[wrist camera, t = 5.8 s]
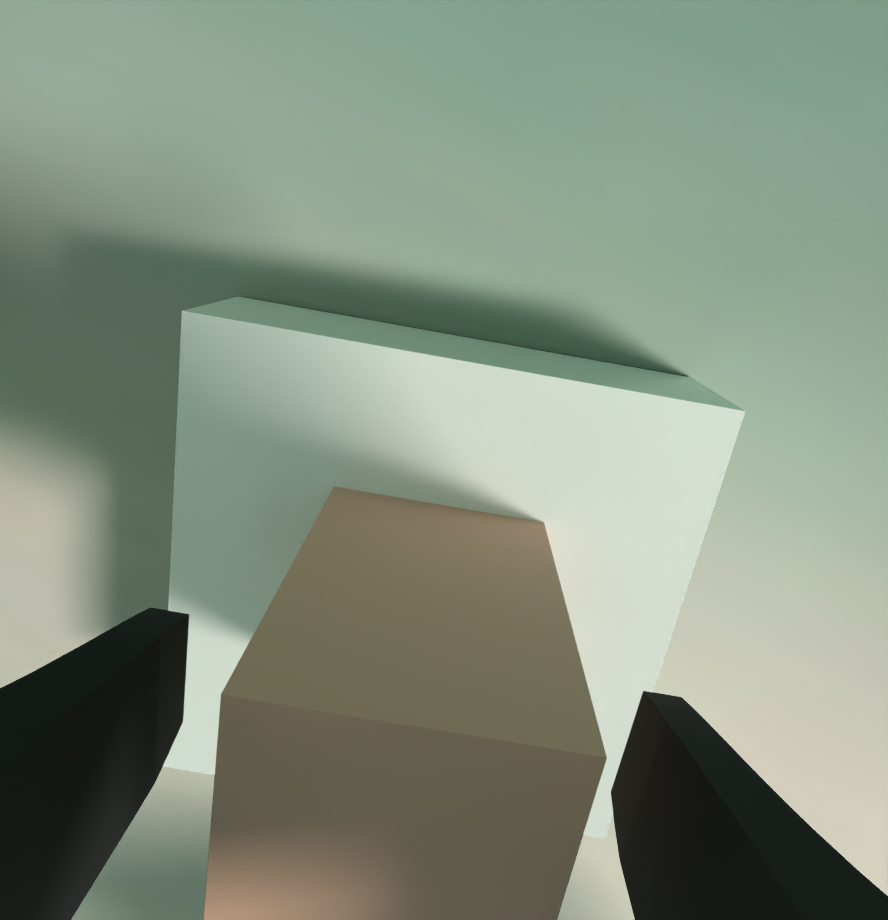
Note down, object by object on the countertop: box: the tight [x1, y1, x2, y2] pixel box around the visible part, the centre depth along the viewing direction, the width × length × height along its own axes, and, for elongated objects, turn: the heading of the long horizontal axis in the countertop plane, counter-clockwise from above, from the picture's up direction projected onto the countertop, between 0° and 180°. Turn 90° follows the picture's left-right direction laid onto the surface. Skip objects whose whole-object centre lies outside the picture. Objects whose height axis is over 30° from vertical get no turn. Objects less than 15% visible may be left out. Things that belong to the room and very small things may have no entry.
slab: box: [163, 296, 745, 839], centre depth 15 cm, size 10×10×3 cm
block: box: [204, 486, 607, 920], centre depth 10 cm, size 4×4×6 cm
